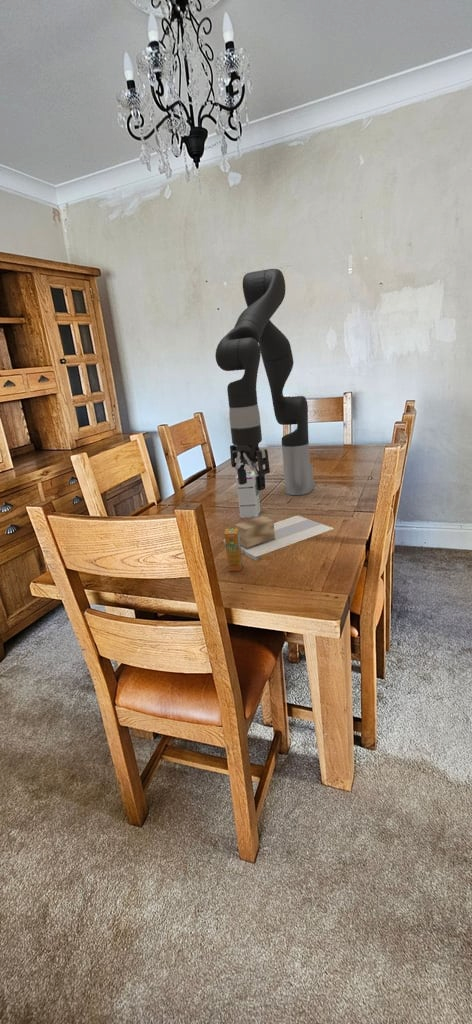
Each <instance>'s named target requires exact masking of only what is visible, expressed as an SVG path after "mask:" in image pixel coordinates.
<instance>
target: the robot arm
mask: <svg viewBox="0 0 472 1024" xmlns="http://www.w3.org/2000/svg"><path fill="white" fill-rule="evenodd" d="M242 291H243V297H244V300H245V303H246V304H245V305H246V306H247V307H246V308H245V309H244V310H243V311H241V312H242V313H240V314H239V316H238V318H237V321H236V323H235V325H234V327H233V328H232V329H231V330H229V332H228V333H227V334H226V335H224V336H223V337H222V338H221V340H220V341H219V343H218V344H217V346H216V349H215V362H216V364H217V366H218V368H220V369H221V370H222V371H224V372H235V371H243V370H244V373H243V375H242V377H241V378H240V379H238V380H237V379H236V380H233V381H231V382H229V383H228V385H227V390H226V391H227V399H228V408H229V411H228V415H229V417H228V418H229V419H228V420H229V427H230V435H231V443H232V444H231V445H230V446H229V453H230V463H231V467H232V468H234V469H235V471H236V473H237V475H238V482H239V484H240V485H243V484H246V483H247V477H246V471H247V469H246V468H247V466H249V468H250V470H251V471H254V473H255V475H256V476H255V477H256V487H257V490H259V492H260V491H263V490H265V489H266V478H265V476H266V475H267V474H269V473H271V469H270V468H271V467H270V461H269V454H268V453H269V452H268V449H267V448H265V449H260V446H259V444H260V443H261V442H263V441H262V440H263V435H262V425H261V416H260V409H259V405H258V394H257V393H258V391H257V380H258V373H259V372H258V371H259V367H260V361H261V358H262V363H263V367H264V371H265V373H266V377H267V382H268V386H269V388H270V389H269V391H270V394H271V395H270V396H271V401H272V407H273V412H274V417H275V420H276V422H277V424H279V425H281V426H282V425H283V426H284V425H285V426H287V425H289V426H291V425H297V426H296V429H294V430H293V431H292V432H289V433H288V434H285V435H283V436H282V437H281V449H282V450H281V451H282V462H283V476H284V488H285V489H284V491H285V494H287V495H290V496H301V495H307V494H309V493H311V492H312V491H314V490H315V489H314V487H315V485H314V472H313V464H312V463H311V460H310V459H311V458H310V446H309V444H310V443H309V408H308V407H309V406H308V400H307V398H306V397H305V396H304V395H302V396H301V395H297V396H286V397H285V396H284V394H283V391H284V387H285V384H286V382H287V381H288V378H289V377H290V375H291V372H292V370H293V367H294V356H293V351H292V347H291V343H290V341H289V339H288V338H287V336H286V335H285V334H284V333H283V332H282V331H281V330H280V329H279V328H278V327H277V326H276V325H275V324H274V323H273V322H272V320H271V318H272V317H273V315H274V314H275V313H276V312H277V310H278V309H279V307H280V306H281V305H282V304H283V302H284V298H285V297H286V280H285V277H284V273H283V272H282V271H281V270H280V269H278V268H268V269H262V270H255V271H251V272H247V273H246V274H244V276H243V277H242Z"/></svg>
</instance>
